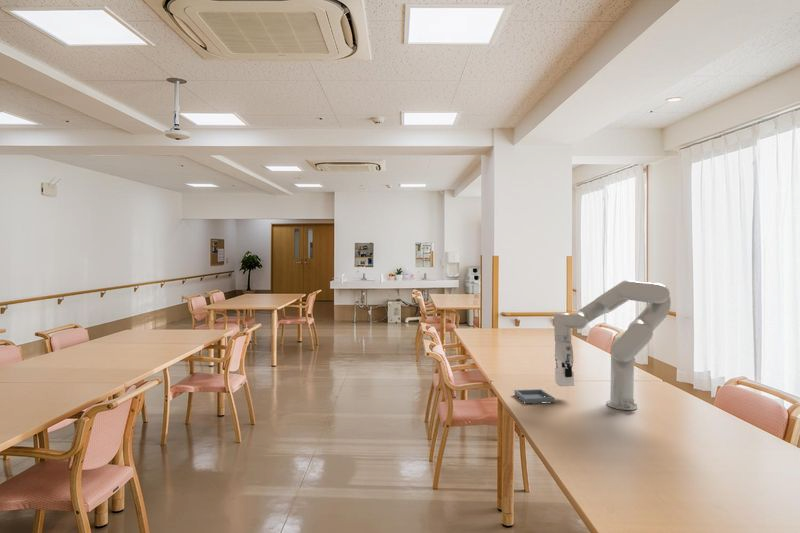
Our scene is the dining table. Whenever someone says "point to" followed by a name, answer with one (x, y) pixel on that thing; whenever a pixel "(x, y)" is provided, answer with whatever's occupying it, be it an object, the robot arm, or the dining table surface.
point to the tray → (533, 396)
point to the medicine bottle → (563, 375)
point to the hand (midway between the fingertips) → (564, 374)
